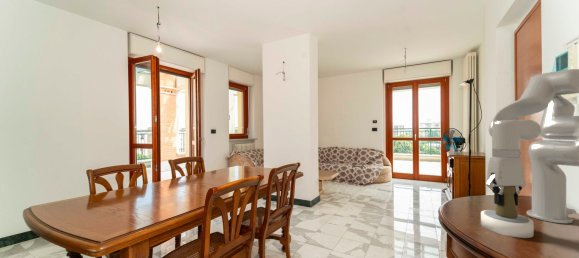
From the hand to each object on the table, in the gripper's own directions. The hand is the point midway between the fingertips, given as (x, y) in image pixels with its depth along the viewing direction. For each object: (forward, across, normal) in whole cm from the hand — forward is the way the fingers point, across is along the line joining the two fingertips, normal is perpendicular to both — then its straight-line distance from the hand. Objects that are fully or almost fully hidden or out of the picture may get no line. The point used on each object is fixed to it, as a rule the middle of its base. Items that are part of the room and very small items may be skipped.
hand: (505, 204), depth 86 cm
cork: (+4, 0, 0) cm, 4 cm away
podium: (+9, 0, 0) cm, 9 cm away
